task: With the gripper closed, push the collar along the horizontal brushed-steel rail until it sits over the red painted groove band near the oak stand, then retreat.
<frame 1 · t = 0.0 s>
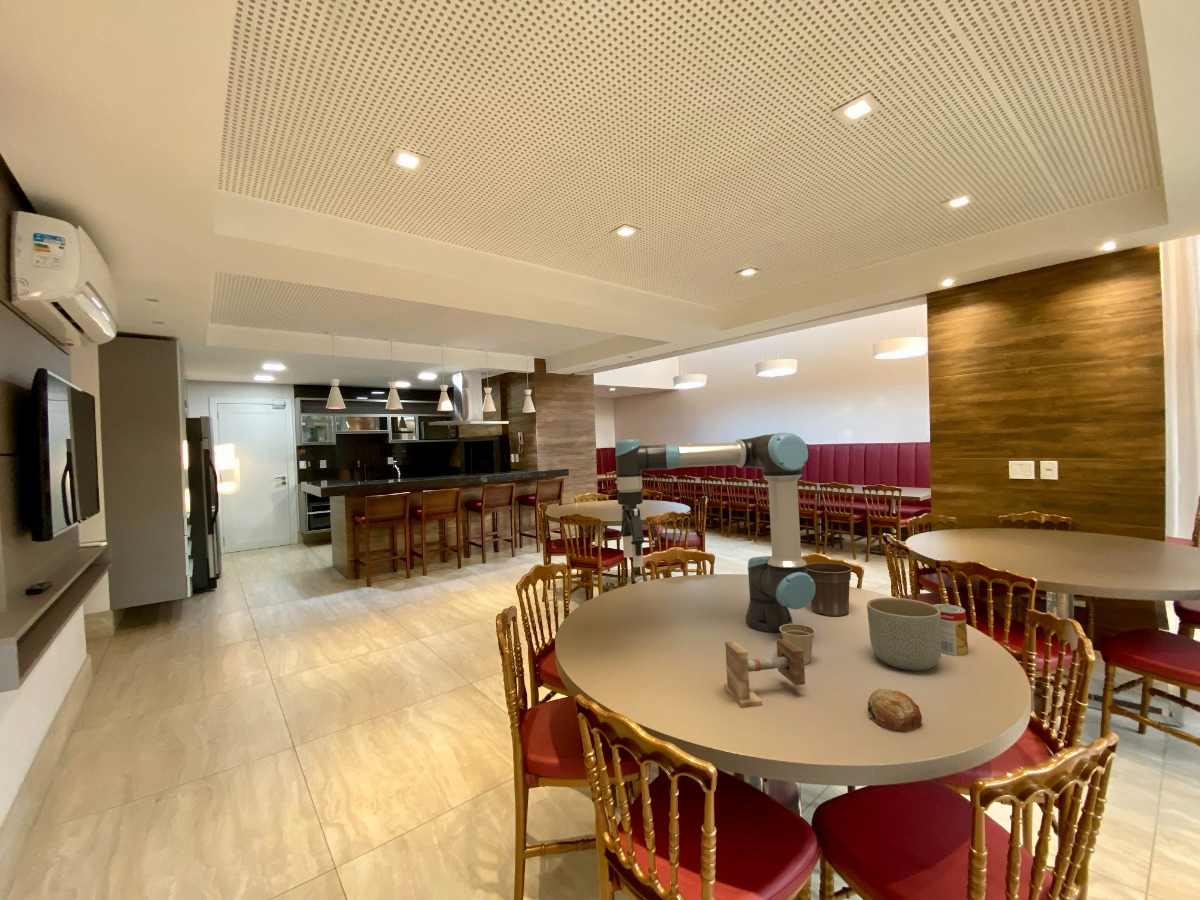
hand: (633, 561, 143), 28 cm above the table, fingers open, 13 cm apart
flower pot: (798, 660, 135), on the table
planter: (905, 663, 130), on the table
collar: (790, 661, 118), point 7 cm above the table, slide at 0.0 cm
plant pot: (829, 611, 174), on the table
canned food: (950, 651, 137), on the table
rail stand: (769, 692, 117), on the table
bread roll: (894, 720, 104), on the table
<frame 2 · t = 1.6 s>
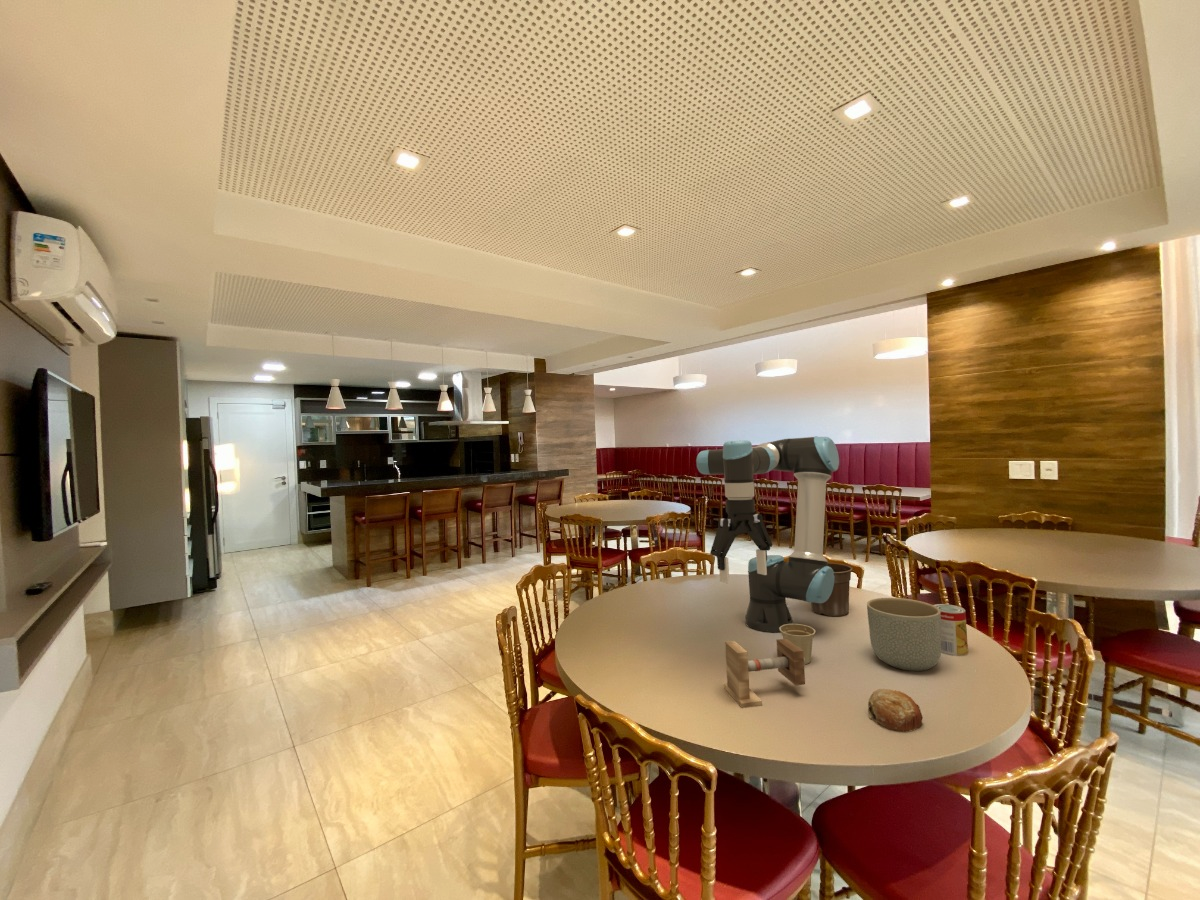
hand: (743, 578, 128), 26 cm above the table, fingers open, 13 cm apart
nothing on the table moved.
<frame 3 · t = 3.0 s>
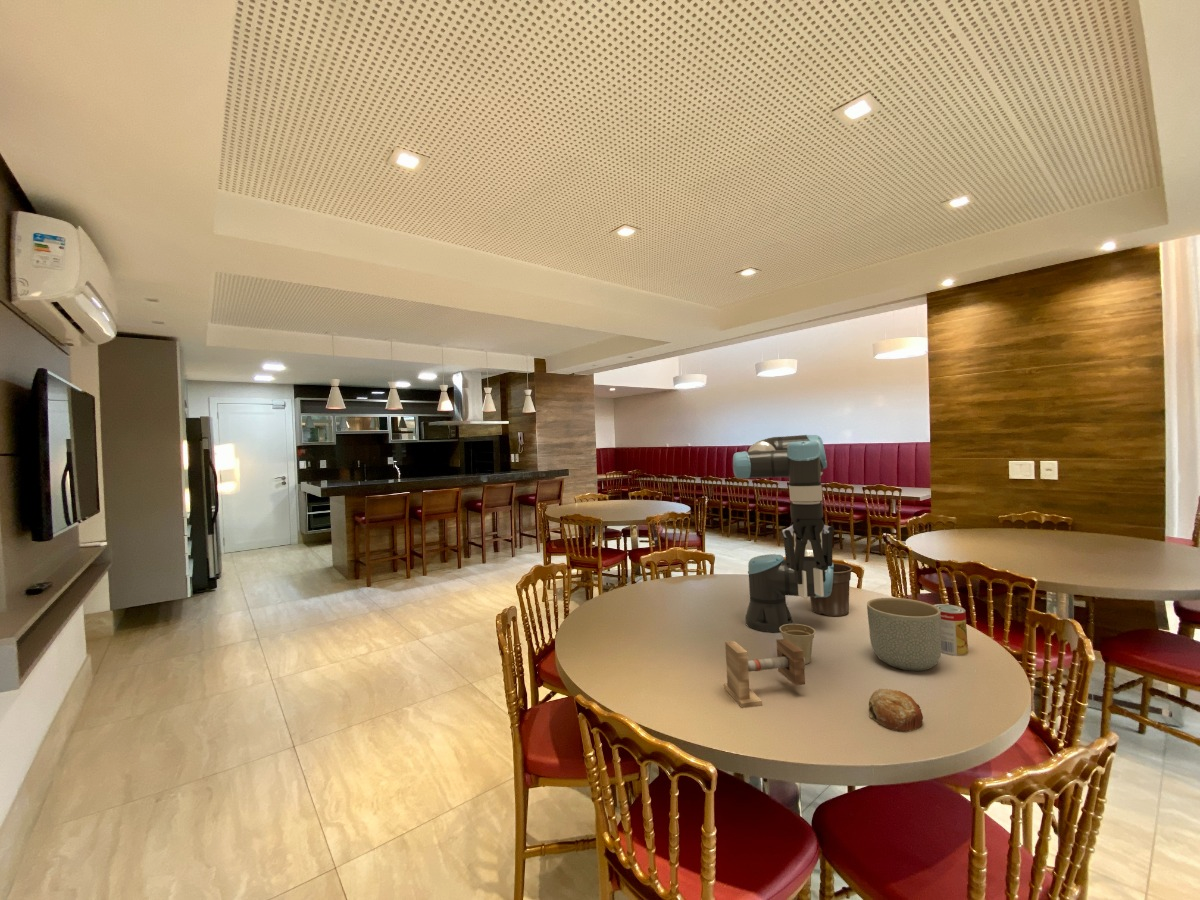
hand: (811, 595, 120), 23 cm above the table, fingers open, 4 cm apart
nothing on the table moved.
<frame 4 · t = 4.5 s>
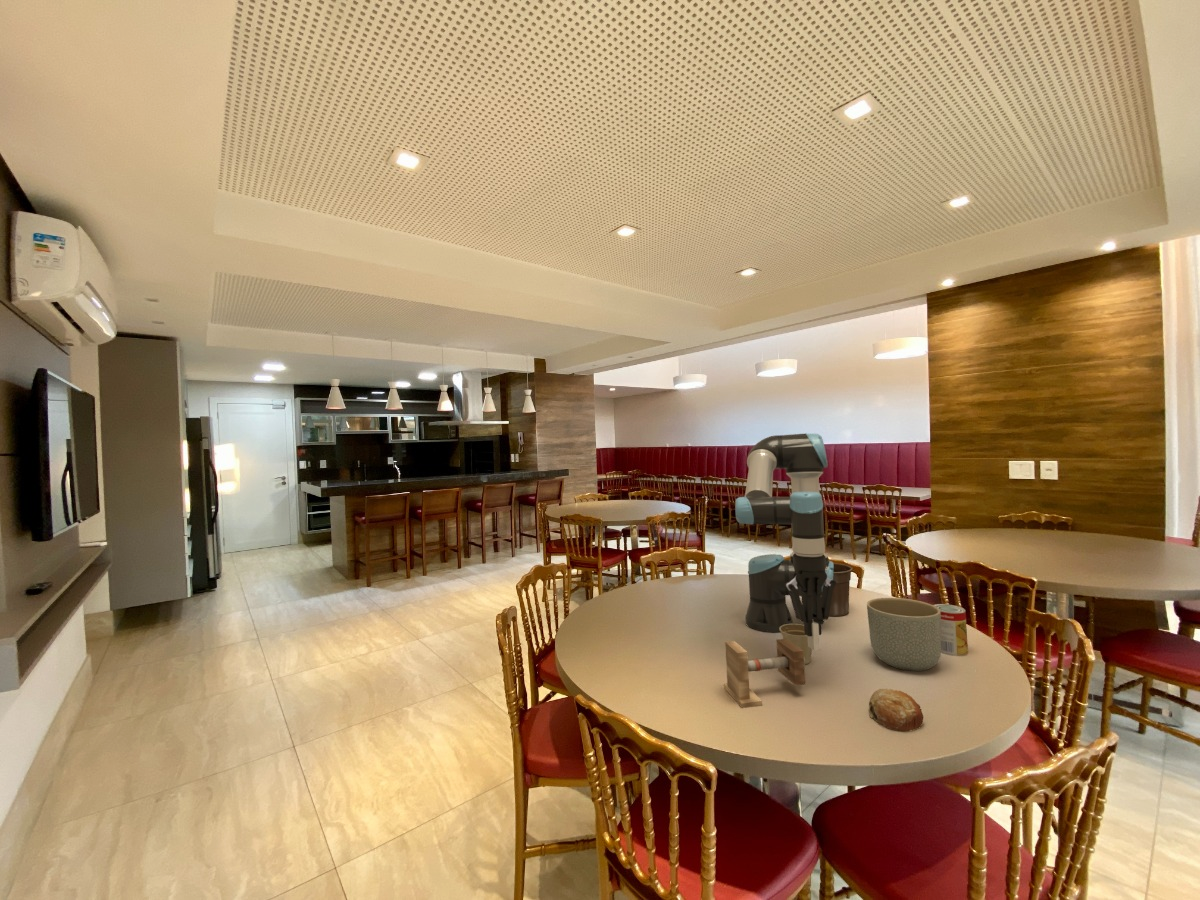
hand: (813, 648, 119), 10 cm above the table, fingers closed
nothing on the table moved.
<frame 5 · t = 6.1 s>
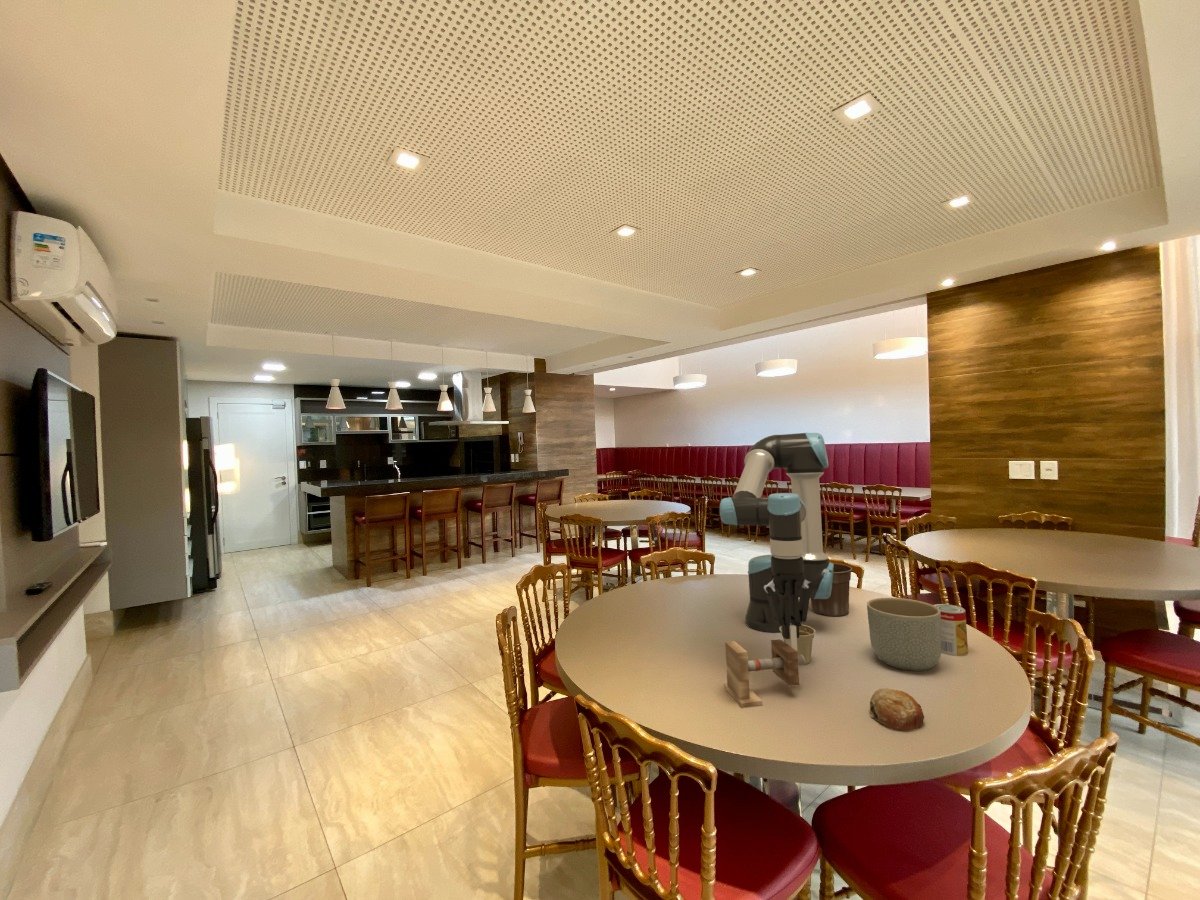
hand: (791, 651, 119), 9 cm above the table, fingers closed
collar: (784, 661, 118), point 7 cm above the table, slide at 1.5 cm, touching gripper
everything else where it was.
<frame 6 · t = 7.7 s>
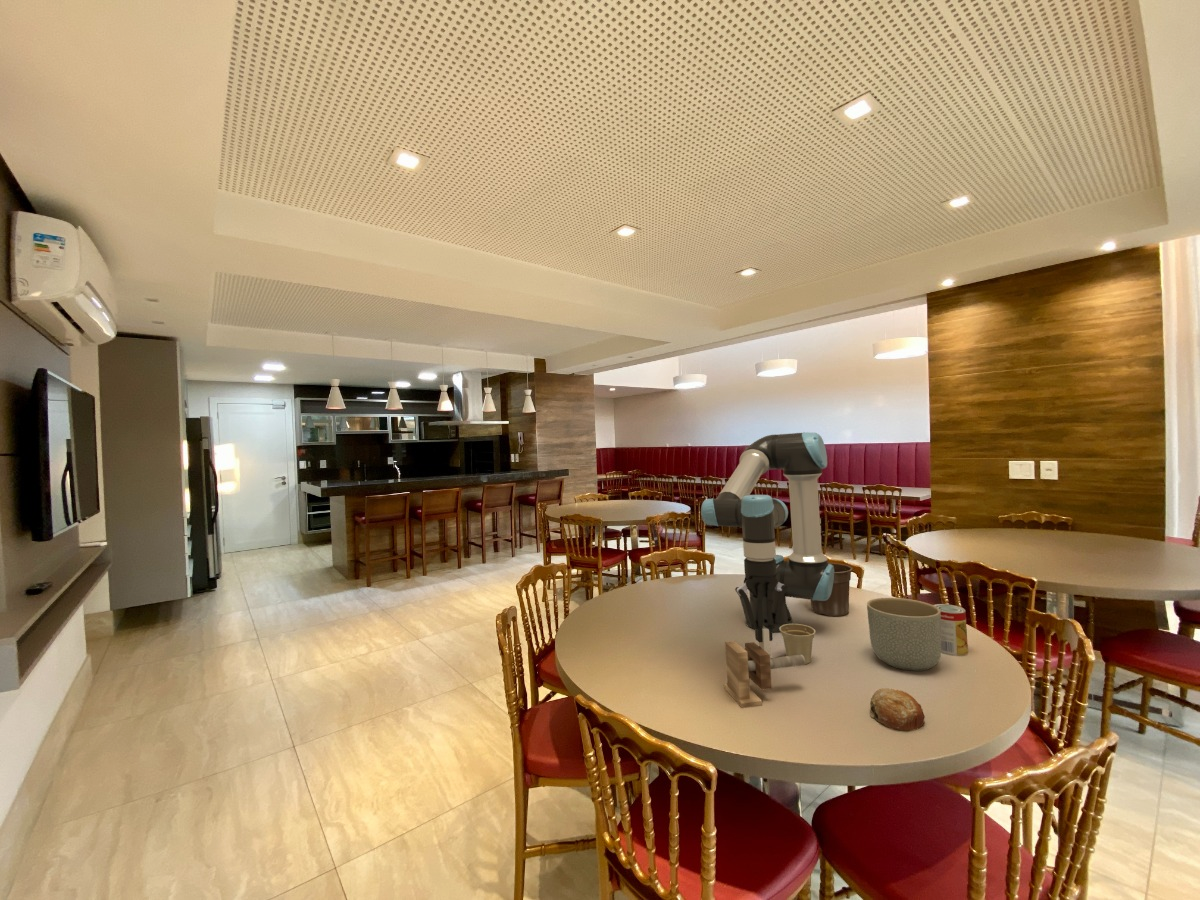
hand: (764, 654, 117), 9 cm above the table, fingers closed
collar: (757, 665, 117), point 7 cm above the table, slide at 8.7 cm, touching gripper
everything else where it was.
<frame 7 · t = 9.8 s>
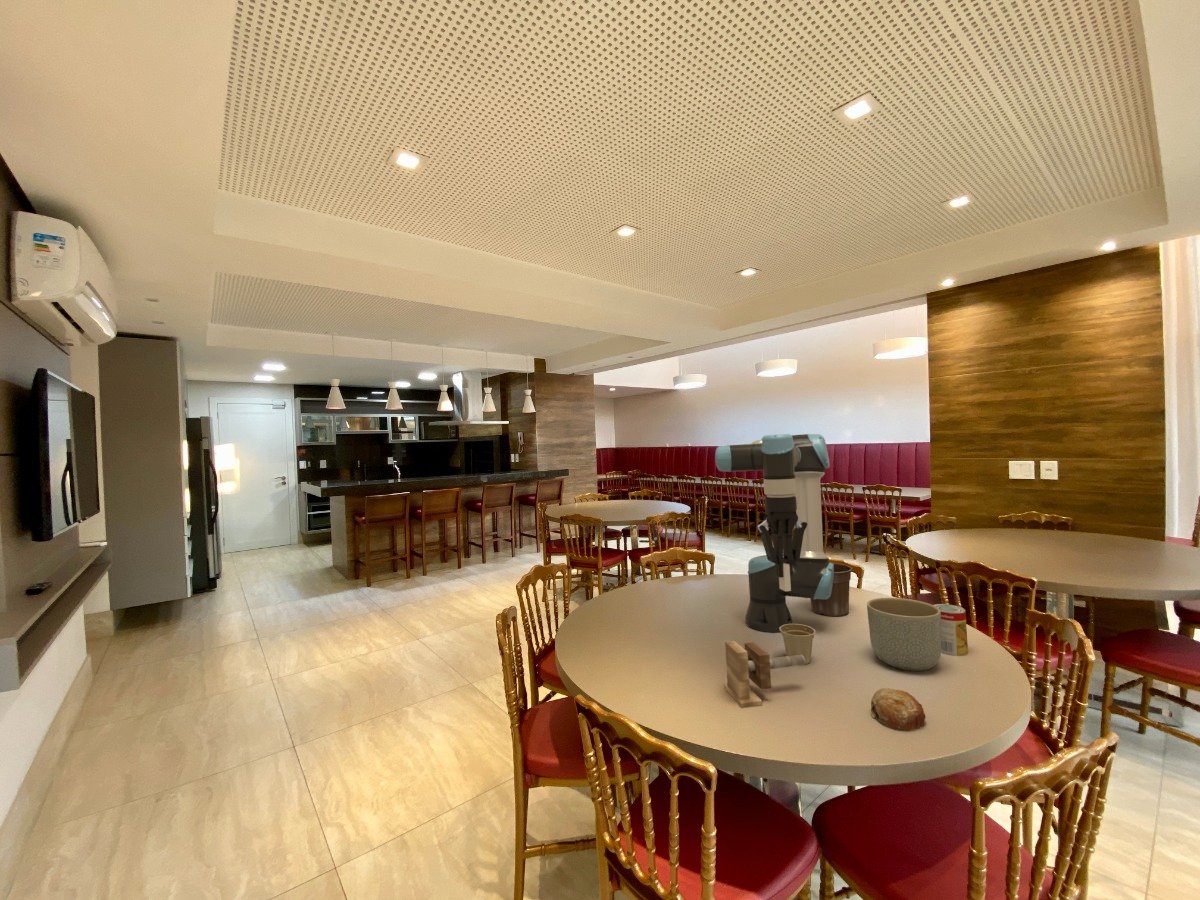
hand: (785, 589, 120), 24 cm above the table, fingers closed
collar: (757, 665, 117), point 7 cm above the table, slide at 8.7 cm
everything else where it was.
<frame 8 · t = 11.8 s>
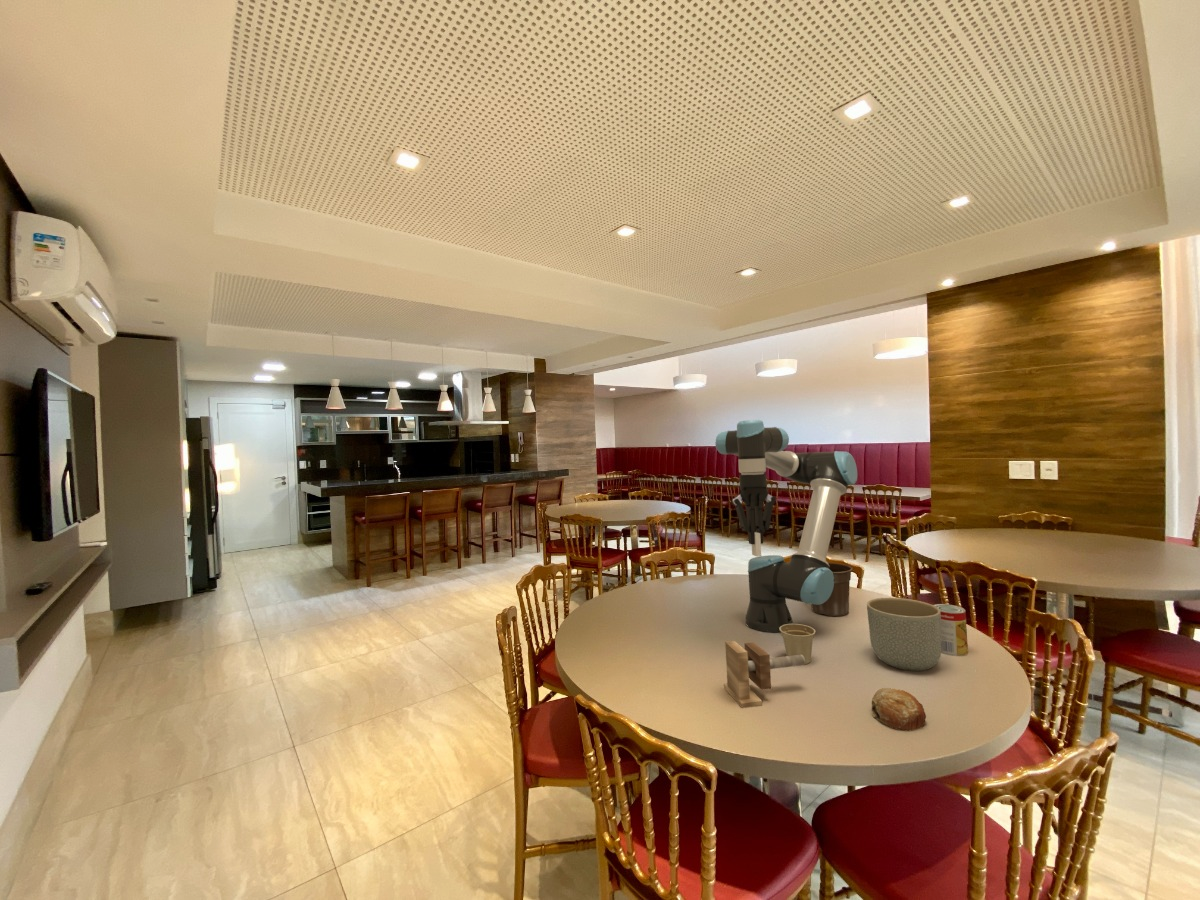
hand: (756, 555, 138), 29 cm above the table, fingers closed
at the end: collar slide at 8.7 cm; collar 0.3 cm from the target spot on the rail stand, point 7.0 cm above the rail stand's base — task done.
